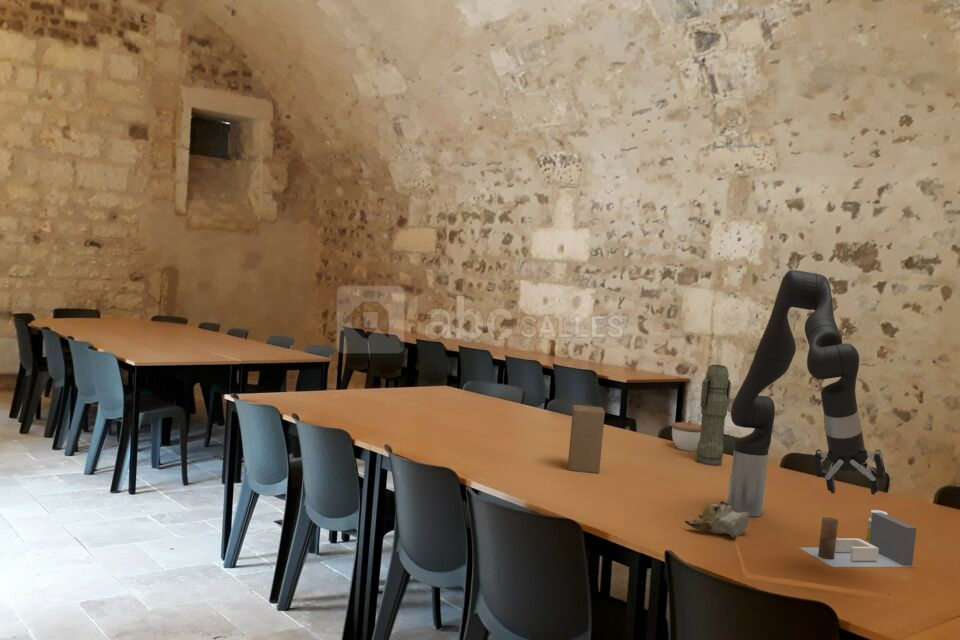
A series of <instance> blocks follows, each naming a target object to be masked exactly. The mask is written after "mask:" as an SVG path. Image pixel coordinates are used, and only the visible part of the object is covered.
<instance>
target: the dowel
mask: <svg viewBox="0 0 960 640" xmlns="http://www.w3.org/2000/svg"><path fill="white" fill-rule="evenodd" d="M838 526H839V520H838V519H837V518H834V517H828V516H825V517H822V518H821V526H820V534H819V545H818V547H819V552H818V556H819V557H821V558H824V559H834V555H835V545H836V538H837V535H838Z"/></svg>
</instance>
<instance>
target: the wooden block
mask: <svg viewBox="0 0 960 640" xmlns="http://www.w3.org/2000/svg"><path fill="white" fill-rule="evenodd" d="M605 414H606V413H605V410H604V407H601V406H591V405H590V406H589V405H579V404H573V406H572V415H571V425H570V426H571V427H570V438H569V449H568V461H567V465H568V466H567V467H568V468H567V469H568V471H570V472H571V471H572V472H581V473H589V474H599V473H600V472H601V459H602V458H601V457H602V450H603V449H602V447H603V437H604V425H605Z"/></svg>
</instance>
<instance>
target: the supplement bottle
mask: <svg viewBox="0 0 960 640" xmlns="http://www.w3.org/2000/svg"><path fill="white" fill-rule="evenodd" d="M872 512H874V513H883V514H885V515H888V516H889V514H888V512H886V511H883V510H881V509H872V510H870V515H869V516H870V517H869V518H868V521H867V529H866V530H867V531H866V540H867V541H869V538H870V529H871V520H872Z"/></svg>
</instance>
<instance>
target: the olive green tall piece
mask: <svg viewBox="0 0 960 640" xmlns="http://www.w3.org/2000/svg"><path fill="white" fill-rule="evenodd" d="M729 374H730V373H729V370H728V367H727V366H725V365H722V364H711V365H709V366H708V368H707V371H706V375H705V377H704V379H703V380H702V384H701V392H700V407H701V409H700V413H701V421H700V422H701V423H700V425H701V432H700V440H699V442H698V447H697V450H696V455H697V457H696V462H697V463H698V464H701V465H706V466H713V467H714V466H721V465H722V460H723V457H724V448H725V445H724V441H723V440H724V431H725V419H726V417H727V414H728V407H729V406H730V396H731V386H732V383H731V380H730V379H729V377H730V376H729Z"/></svg>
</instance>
